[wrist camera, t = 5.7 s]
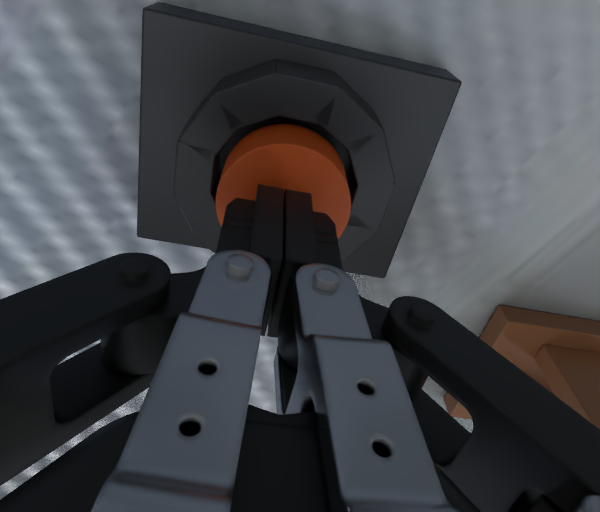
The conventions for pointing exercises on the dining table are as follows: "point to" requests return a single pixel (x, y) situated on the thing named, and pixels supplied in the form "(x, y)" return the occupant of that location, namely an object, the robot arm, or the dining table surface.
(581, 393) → the switch bracket
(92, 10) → the dining table surface
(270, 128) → the power button
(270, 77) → the button base
